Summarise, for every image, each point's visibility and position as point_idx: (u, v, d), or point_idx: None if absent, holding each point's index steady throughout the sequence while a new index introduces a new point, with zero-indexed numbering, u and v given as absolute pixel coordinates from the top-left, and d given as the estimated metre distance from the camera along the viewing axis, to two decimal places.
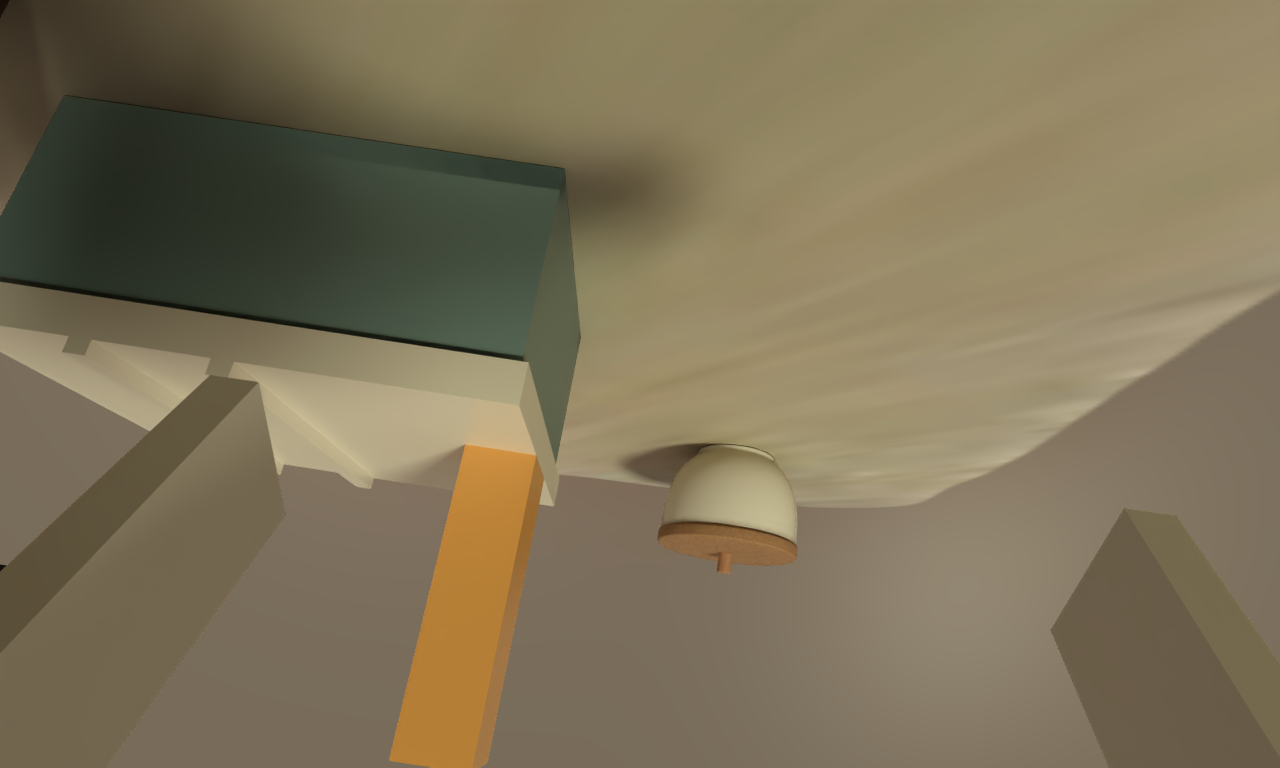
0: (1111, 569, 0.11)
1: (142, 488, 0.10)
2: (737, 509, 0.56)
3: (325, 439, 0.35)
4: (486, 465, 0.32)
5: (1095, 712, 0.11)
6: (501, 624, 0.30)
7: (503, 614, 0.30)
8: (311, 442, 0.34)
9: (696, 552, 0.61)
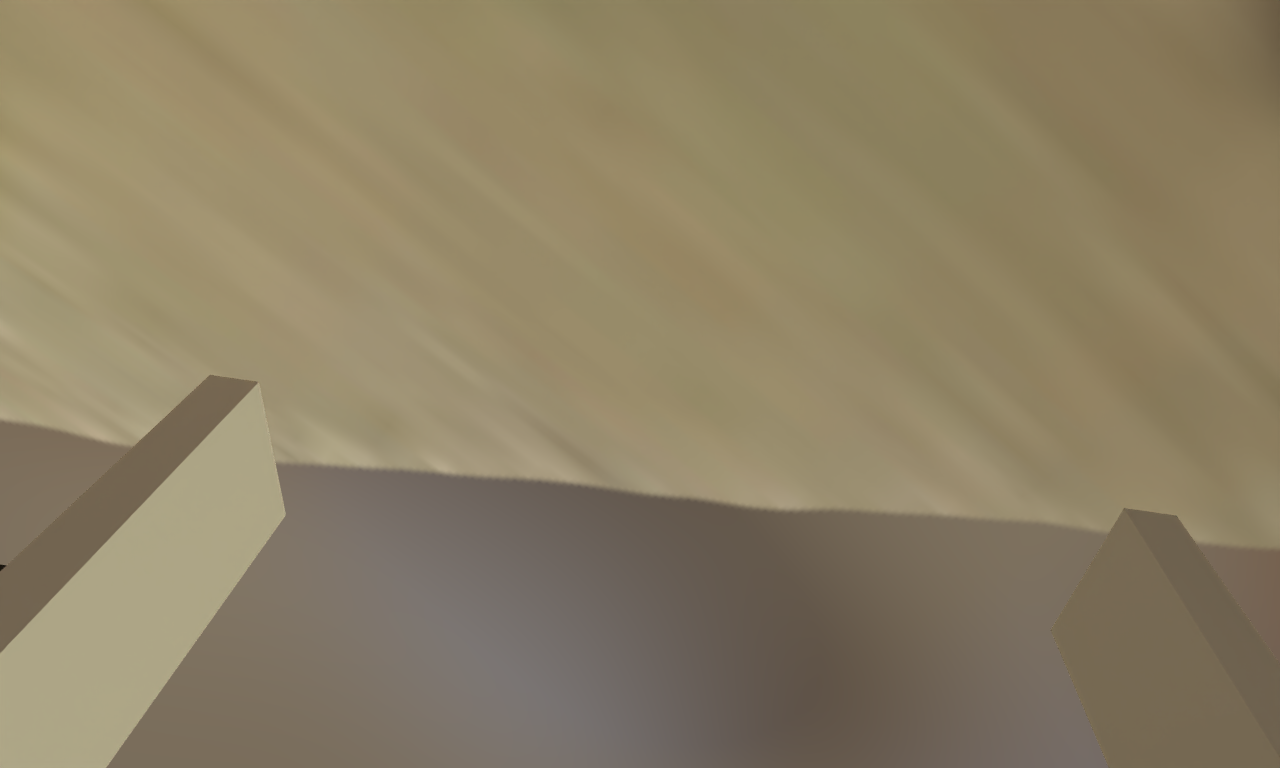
0: (1111, 569, 0.11)
1: (142, 488, 0.10)
2: None
3: None
4: None
5: (1095, 712, 0.11)
6: None
7: None
8: None
9: None
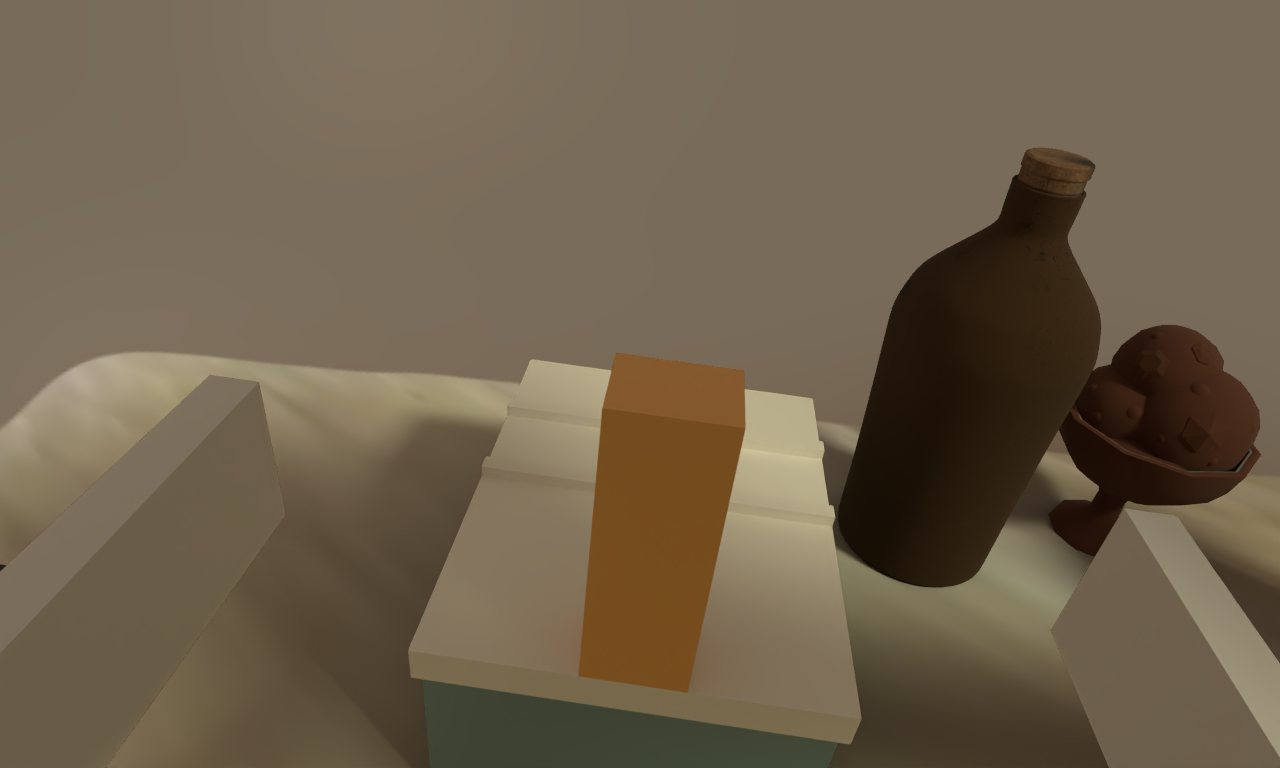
0: (1112, 569, 0.11)
1: (142, 488, 0.10)
2: None
3: None
4: None
5: (1095, 712, 0.11)
6: (713, 559, 0.24)
7: (711, 568, 0.24)
8: None
9: None
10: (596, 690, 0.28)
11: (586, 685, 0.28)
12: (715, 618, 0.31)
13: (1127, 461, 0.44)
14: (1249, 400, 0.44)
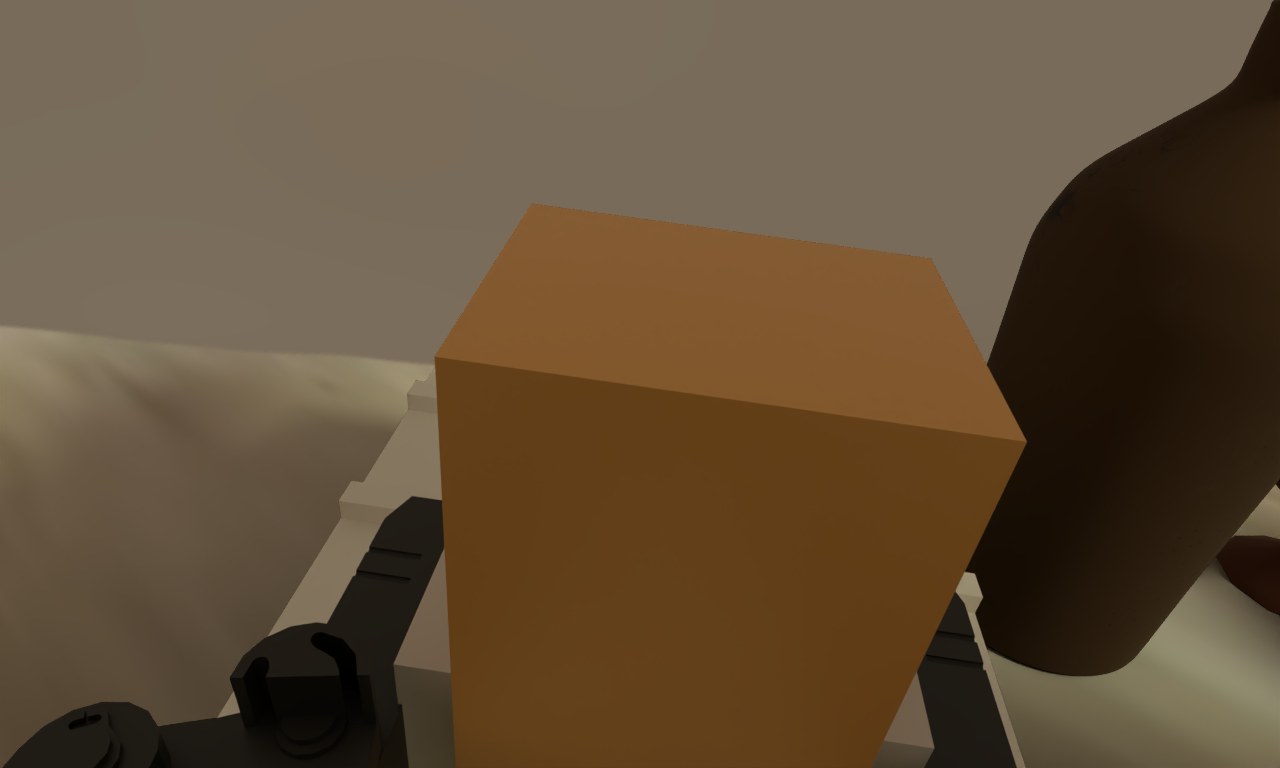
0: None
1: None
2: None
3: None
4: None
5: None
6: None
7: None
8: None
9: None
10: None
11: None
12: None
13: None
14: None
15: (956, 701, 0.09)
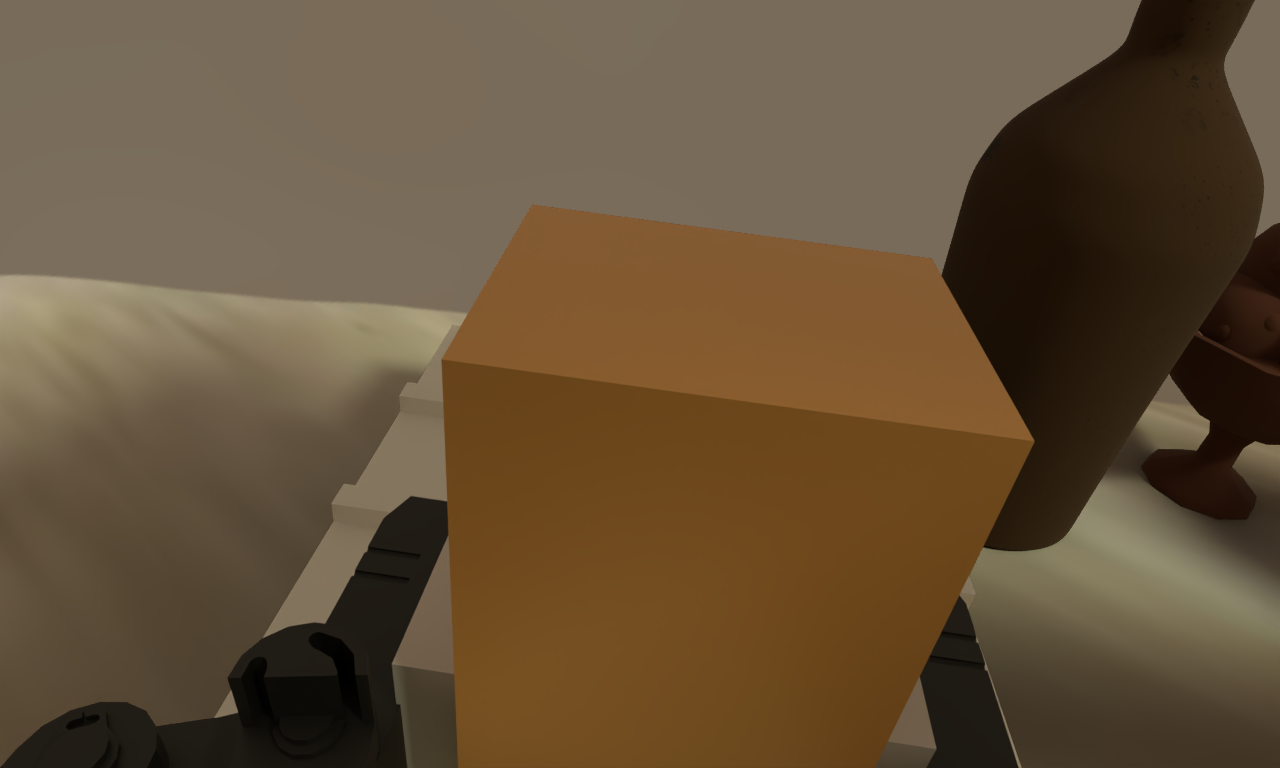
0: None
1: None
2: None
3: None
4: None
5: None
6: None
7: None
8: None
9: None
10: None
11: None
12: None
13: (1271, 383, 0.34)
14: None
15: (957, 702, 0.09)
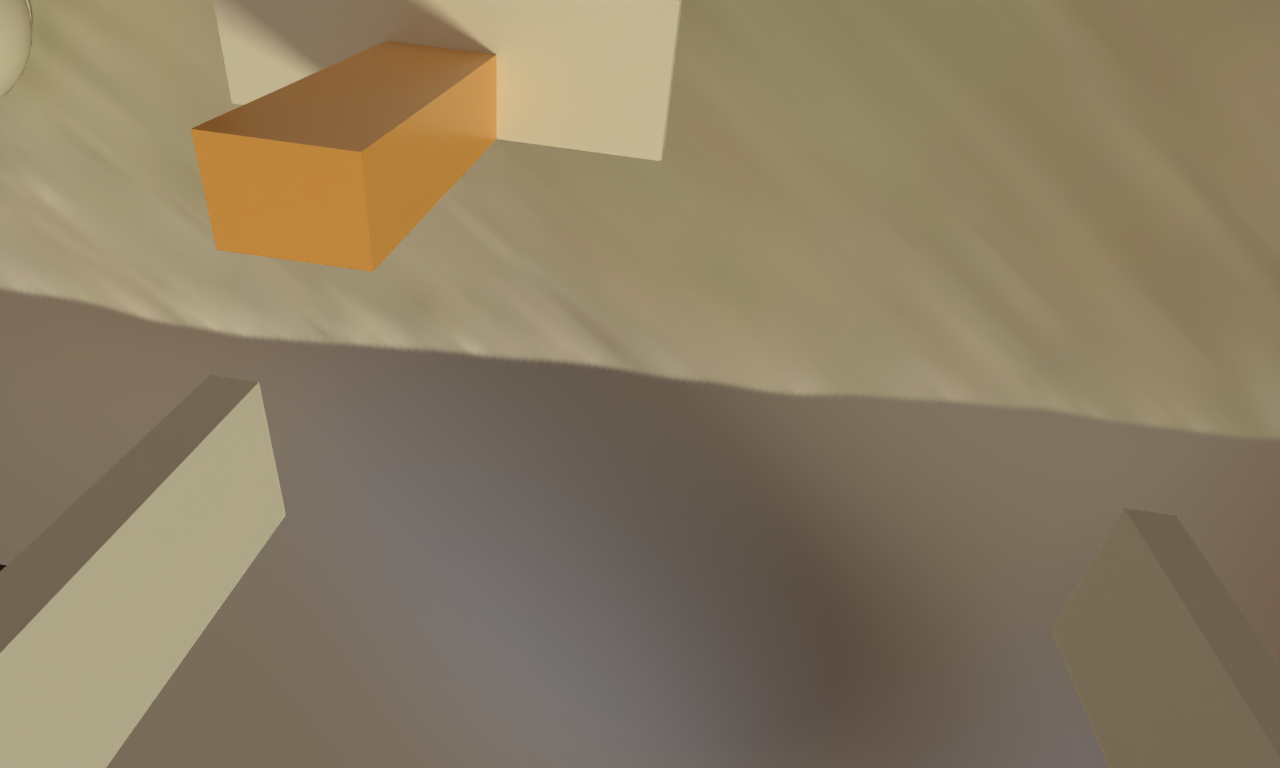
0: (1112, 568, 0.11)
1: (142, 488, 0.10)
2: None
3: None
4: (491, 90, 0.28)
5: (1095, 712, 0.11)
6: None
7: None
8: None
9: None
10: None
11: None
12: (522, 41, 0.27)
13: None
14: None
15: None
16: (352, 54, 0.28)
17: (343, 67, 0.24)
